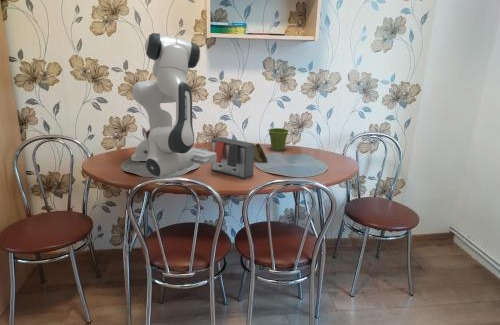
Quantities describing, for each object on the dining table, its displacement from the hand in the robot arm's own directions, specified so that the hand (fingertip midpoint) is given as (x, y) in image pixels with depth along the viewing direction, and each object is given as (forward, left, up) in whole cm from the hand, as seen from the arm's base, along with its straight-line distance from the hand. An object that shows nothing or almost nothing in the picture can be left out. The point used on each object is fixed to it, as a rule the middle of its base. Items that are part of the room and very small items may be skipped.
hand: (205, 150), depth 150 cm
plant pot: (+37, +51, -14) cm, 65 cm away
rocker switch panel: (+11, +9, -13) cm, 20 cm away
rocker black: (+11, +2, -7) cm, 14 cm away
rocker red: (+4, +7, -7) cm, 11 cm away
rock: (+25, +30, -14) cm, 42 cm away
